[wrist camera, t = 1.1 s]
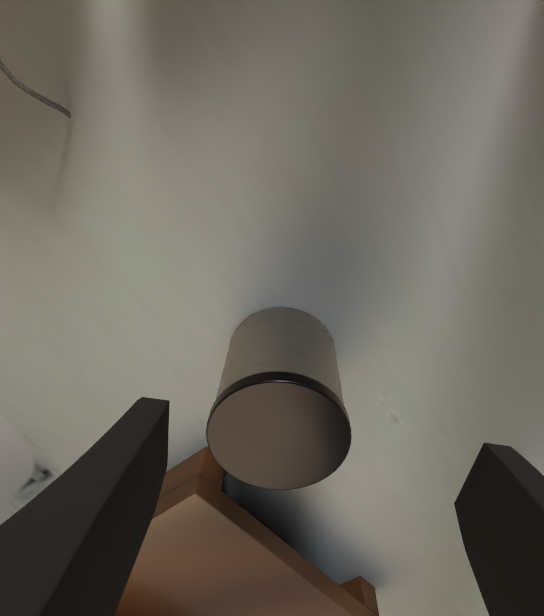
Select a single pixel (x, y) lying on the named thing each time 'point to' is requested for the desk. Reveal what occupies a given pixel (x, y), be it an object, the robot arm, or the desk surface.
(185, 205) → the desk surface
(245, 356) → the spice tin
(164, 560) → the wooden display base
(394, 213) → the desk surface
